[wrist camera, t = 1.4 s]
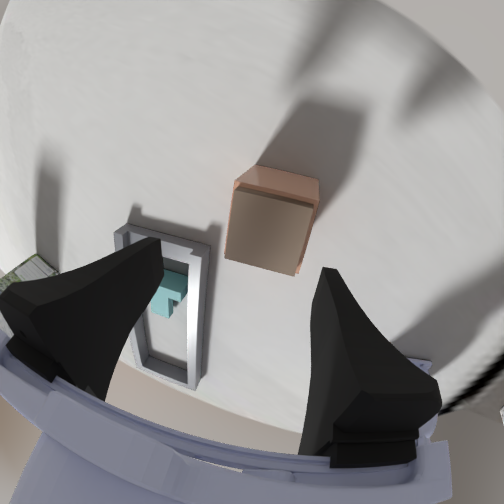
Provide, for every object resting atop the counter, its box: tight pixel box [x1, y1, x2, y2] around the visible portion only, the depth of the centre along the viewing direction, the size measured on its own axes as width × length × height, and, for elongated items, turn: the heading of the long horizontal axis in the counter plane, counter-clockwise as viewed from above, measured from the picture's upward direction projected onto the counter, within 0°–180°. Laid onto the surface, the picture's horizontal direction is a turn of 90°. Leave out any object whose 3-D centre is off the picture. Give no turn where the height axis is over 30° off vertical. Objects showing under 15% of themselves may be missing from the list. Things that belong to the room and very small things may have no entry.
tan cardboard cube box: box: [224, 165, 320, 276], centre depth 17 cm, size 4×4×6 cm
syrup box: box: [0, 254, 58, 338], centre depth 25 cm, size 6×6×14 cm
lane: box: [114, 223, 210, 391], centre depth 27 cm, size 8×20×2 cm, turn 170°
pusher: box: [151, 269, 188, 318], centre depth 24 cm, size 6×5×2 cm
